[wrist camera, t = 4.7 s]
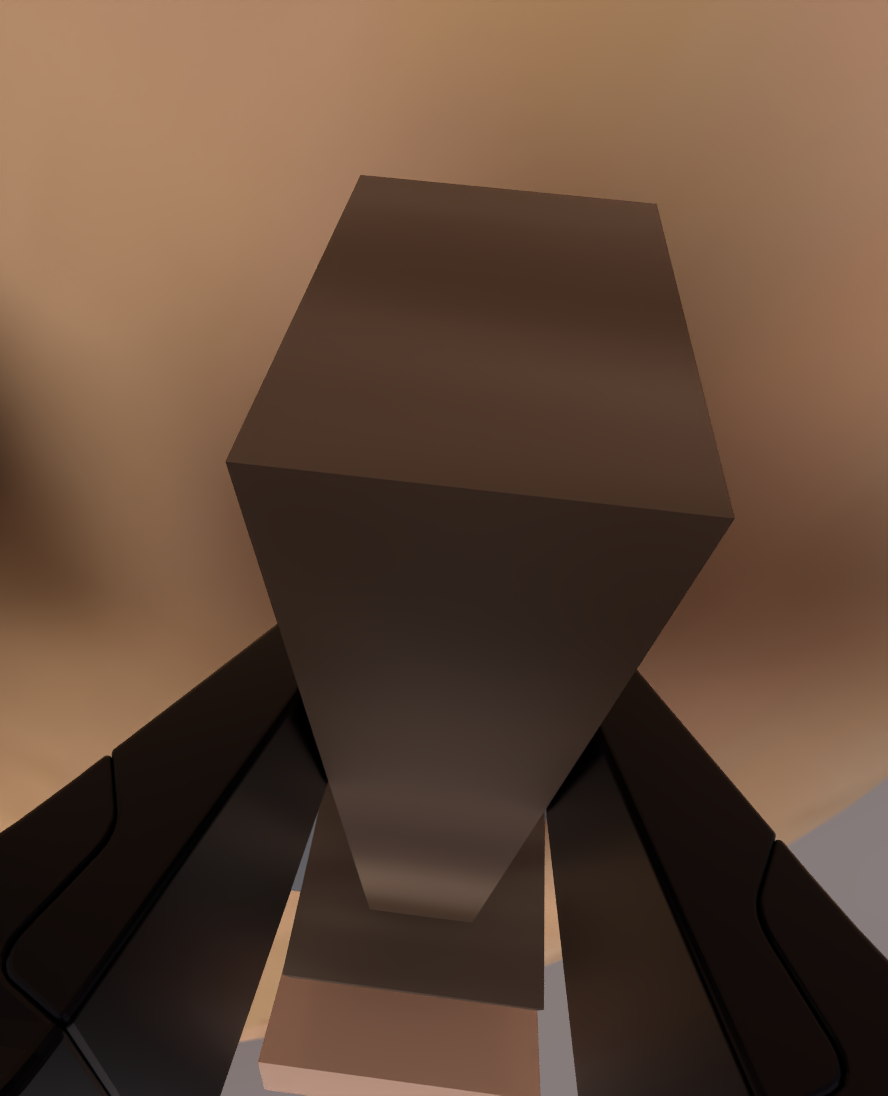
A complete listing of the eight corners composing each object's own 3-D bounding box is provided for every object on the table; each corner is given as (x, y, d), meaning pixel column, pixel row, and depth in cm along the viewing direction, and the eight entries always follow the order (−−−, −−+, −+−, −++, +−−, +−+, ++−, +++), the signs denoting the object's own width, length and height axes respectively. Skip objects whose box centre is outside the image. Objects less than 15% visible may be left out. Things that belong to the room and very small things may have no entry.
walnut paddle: (158, 155, 5) (-406, 701, 2) (867, 224, 5) (1362, 923, 2) (333, 769, 18) (288, 976, 15) (538, 794, 18) (536, 1010, 15)
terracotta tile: (340, 794, 24) (265, 1092, 16) (340, 758, 23) (257, 1062, 15) (519, 816, 24) (526, 1128, 16) (528, 781, 22) (540, 1101, 15)
